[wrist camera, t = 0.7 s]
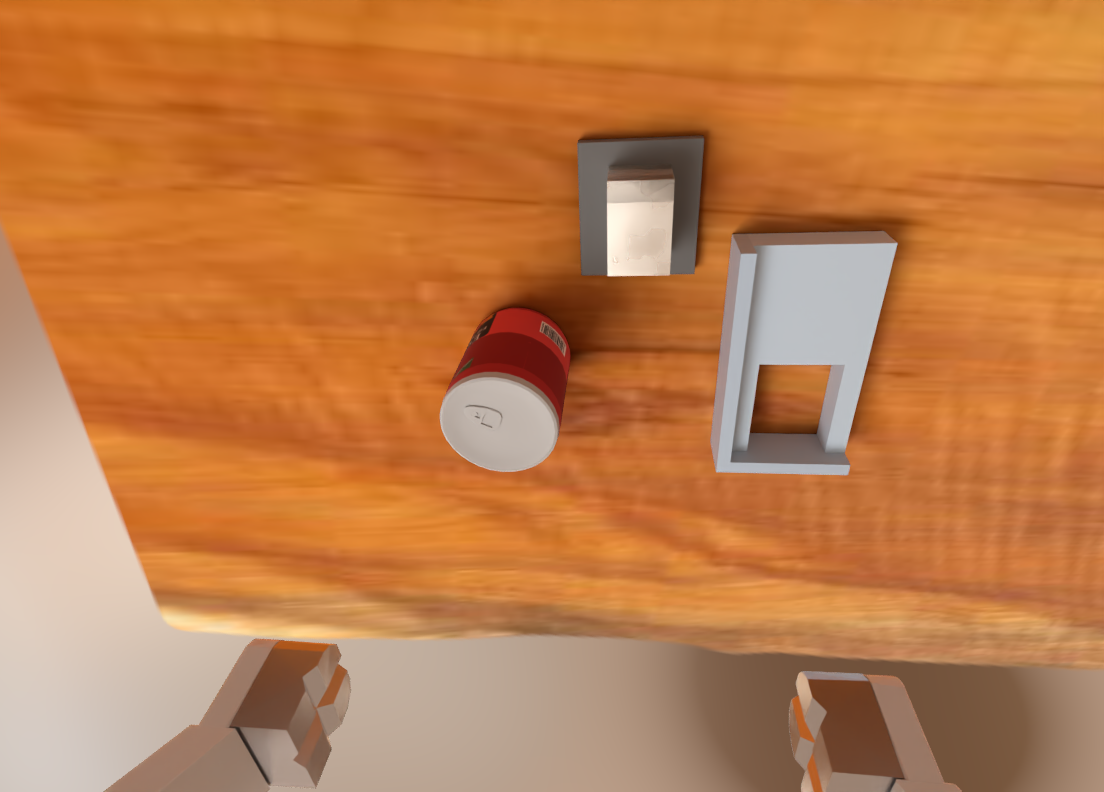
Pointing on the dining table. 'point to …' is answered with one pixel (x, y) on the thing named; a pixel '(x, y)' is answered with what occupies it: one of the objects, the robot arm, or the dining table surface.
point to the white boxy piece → (639, 219)
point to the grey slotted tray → (797, 340)
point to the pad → (630, 152)
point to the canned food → (508, 392)
